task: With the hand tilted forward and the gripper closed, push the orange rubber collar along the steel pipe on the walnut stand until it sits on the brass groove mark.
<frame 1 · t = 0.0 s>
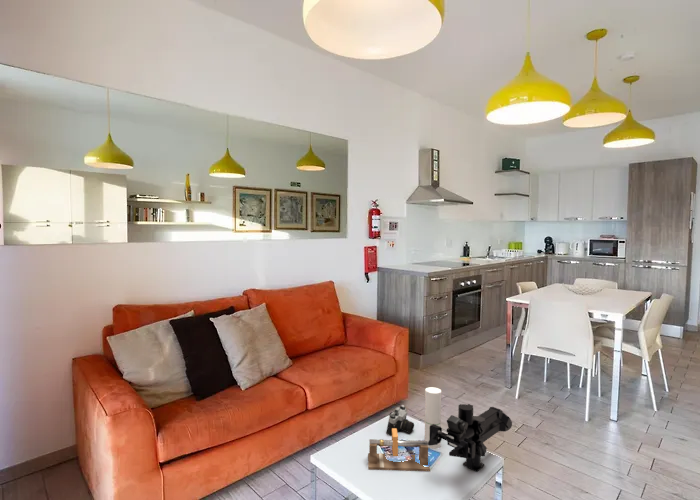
hand: (438, 449, 141), 17 cm above the table, tool horizontal, fingers open, 9 cm apart
stand: (398, 463, 160), on the table
camera: (401, 431, 187), on the table
pipe: (398, 443, 160), point 8 cm above the table
cylindrical container: (432, 444, 175), on the table
collar: (394, 441, 160), point 9 cm above the table, slide at 0.0 cm
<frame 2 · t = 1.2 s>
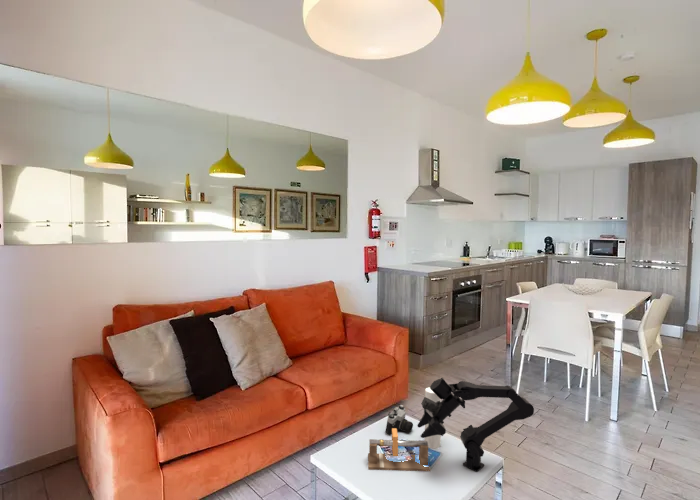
hand: (419, 431, 159), 14 cm above the table, tool tilted 45°, fingers open, 8 cm apart
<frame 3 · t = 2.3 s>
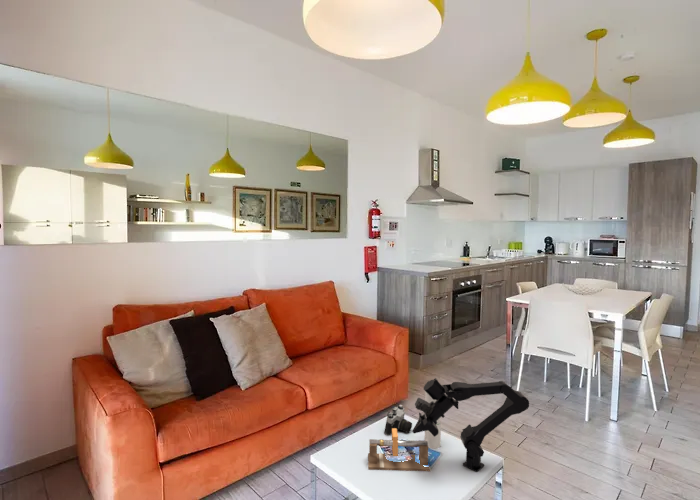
hand: (413, 432, 159), 13 cm above the table, tool tilted 45°, fingers closed
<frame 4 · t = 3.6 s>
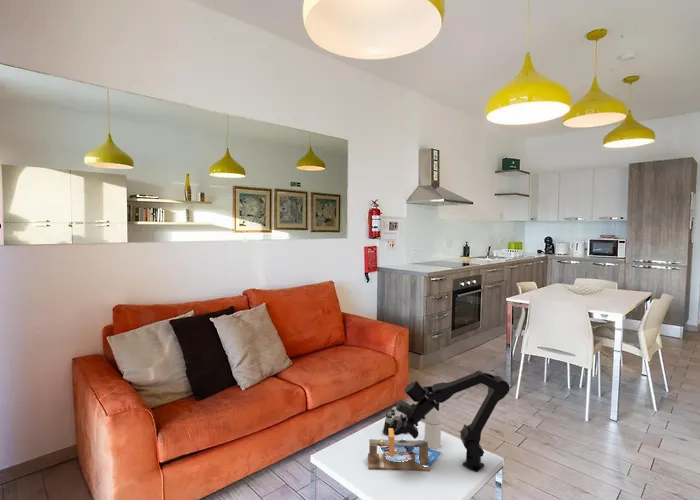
hand: (394, 434, 160), 12 cm above the table, tool tilted 45°, fingers closed, pressing on collar
collar: (391, 441, 160), point 9 cm above the table, slide at 1.5 cm, touching gripper
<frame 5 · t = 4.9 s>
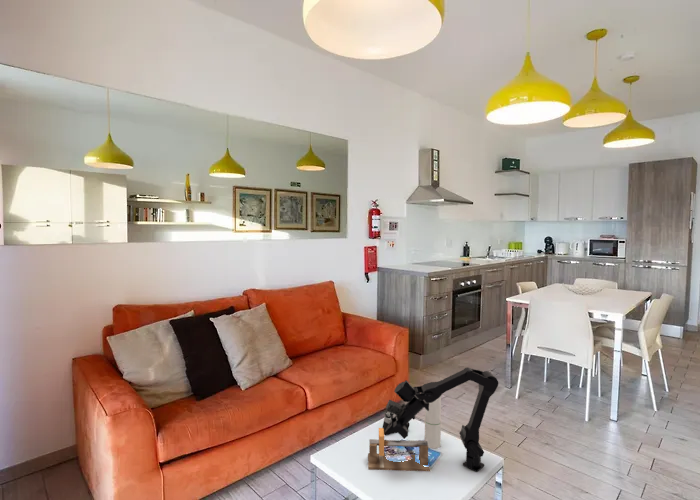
hand: (384, 434, 160), 12 cm above the table, tool tilted 45°, fingers closed, pressing on collar
collar: (381, 441, 160), point 9 cm above the table, slide at 5.6 cm, touching gripper
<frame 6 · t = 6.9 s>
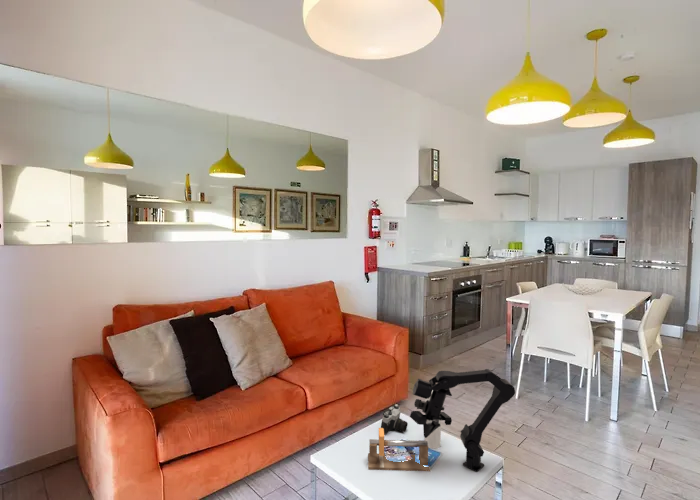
hand: (425, 437, 159), 11 cm above the table, tool tilted 15°, fingers closed
collar: (381, 441, 160), point 9 cm above the table, slide at 5.6 cm
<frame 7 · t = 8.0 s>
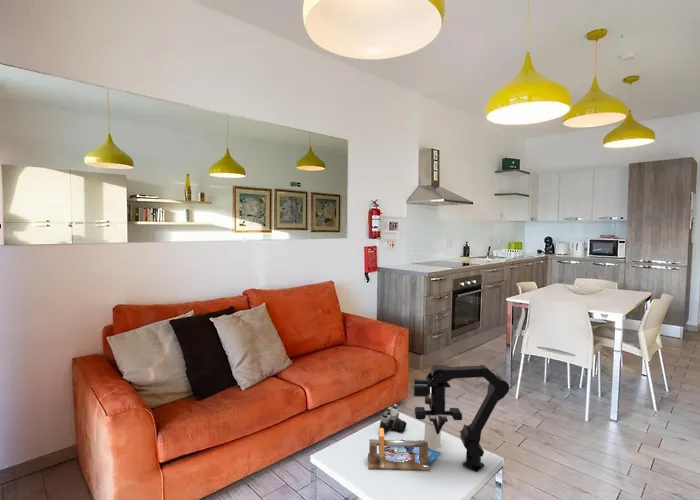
hand: (437, 433, 159), 13 cm above the table, tool pointing down, fingers closed
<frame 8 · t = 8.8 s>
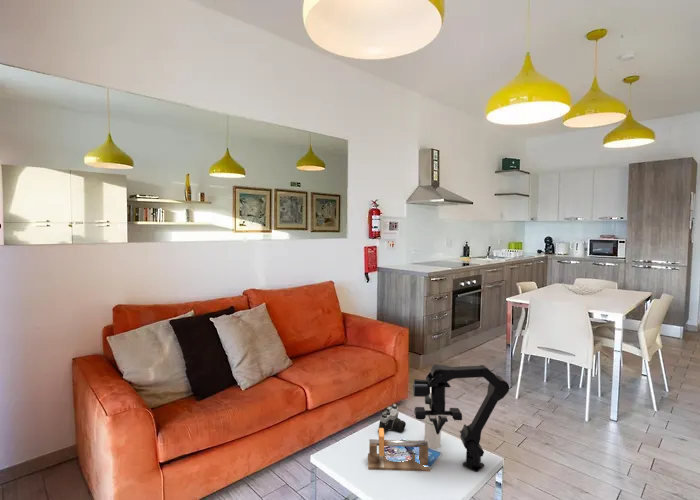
hand: (437, 433, 159), 13 cm above the table, tool pointing down, fingers closed
at the end: collar slide at 5.6 cm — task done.
